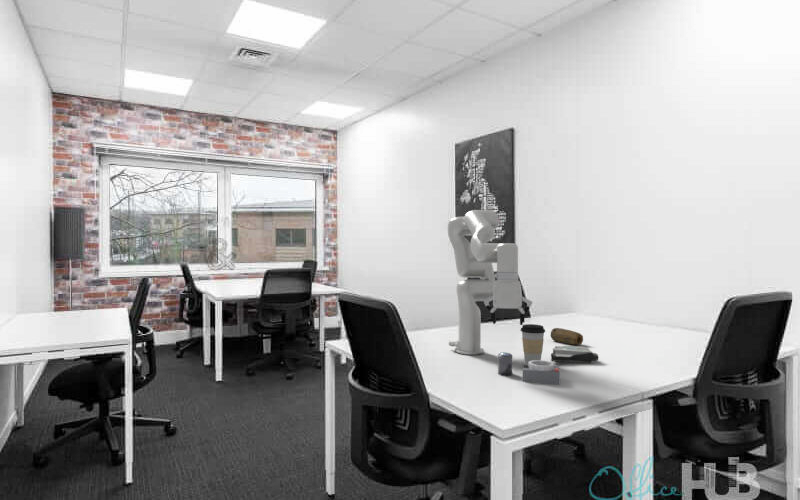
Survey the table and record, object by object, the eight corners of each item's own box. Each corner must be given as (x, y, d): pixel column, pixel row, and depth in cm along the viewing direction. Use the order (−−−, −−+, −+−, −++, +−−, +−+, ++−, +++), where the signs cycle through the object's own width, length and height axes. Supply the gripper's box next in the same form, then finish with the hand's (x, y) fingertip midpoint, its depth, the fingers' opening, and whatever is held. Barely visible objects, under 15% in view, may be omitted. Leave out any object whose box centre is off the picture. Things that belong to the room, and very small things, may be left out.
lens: (497, 375, 170) (497, 354, 170) (498, 371, 175) (499, 351, 175) (511, 376, 169) (511, 355, 169) (512, 372, 174) (512, 352, 174)
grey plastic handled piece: (602, 364, 187) (603, 351, 187) (553, 365, 185) (553, 352, 185) (581, 355, 204) (581, 342, 204) (536, 356, 201) (536, 343, 201)
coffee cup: (532, 368, 180) (532, 328, 180) (515, 362, 189) (515, 325, 188) (550, 365, 185) (550, 326, 184) (533, 360, 193) (533, 323, 193)
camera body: (522, 381, 163) (522, 364, 163) (523, 374, 172) (523, 358, 171) (559, 384, 159) (559, 367, 159) (558, 377, 168) (558, 361, 168)
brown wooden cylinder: (548, 341, 230) (548, 328, 230) (556, 340, 234) (556, 326, 234) (576, 347, 218) (576, 332, 218) (584, 345, 222) (584, 330, 222)
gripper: (482, 277, 172) (482, 324, 172) (531, 277, 167) (531, 326, 167) (485, 276, 179) (485, 321, 179) (532, 276, 174) (532, 323, 174)
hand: (507, 324), depth 173 cm, fingers open, 9 cm apart
